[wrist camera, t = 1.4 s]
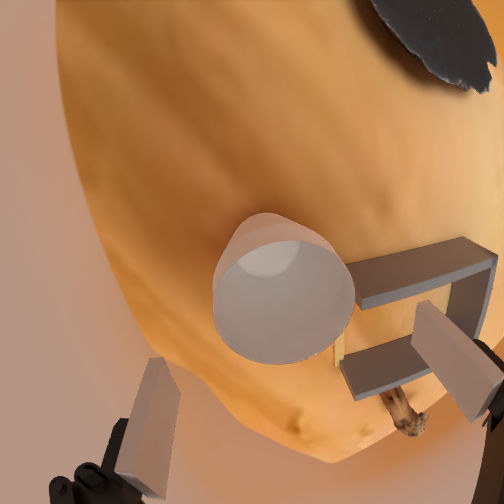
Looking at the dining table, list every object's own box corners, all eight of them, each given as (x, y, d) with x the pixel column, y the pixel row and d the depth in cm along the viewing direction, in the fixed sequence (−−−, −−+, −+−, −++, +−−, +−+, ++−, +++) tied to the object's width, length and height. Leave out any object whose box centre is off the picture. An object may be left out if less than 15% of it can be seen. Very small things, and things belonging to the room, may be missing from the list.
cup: (280, 299, 30) (304, 379, 18) (203, 263, 28) (186, 337, 16) (326, 227, 27) (383, 279, 16) (247, 182, 25) (258, 206, 14)
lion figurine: (415, 392, 39) (436, 426, 30) (392, 410, 40) (410, 445, 31) (383, 361, 35) (410, 404, 26) (355, 383, 36) (376, 429, 27)
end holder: (330, 267, 29) (355, 300, 22) (463, 236, 29) (498, 255, 22) (333, 364, 34) (349, 402, 27) (448, 325, 34) (473, 350, 27)
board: (298, -27, 17) (311, -52, 12) (405, -46, 14) (422, -60, 10) (421, 127, 24) (452, 126, 19) (491, 71, 21) (514, 68, 16)
